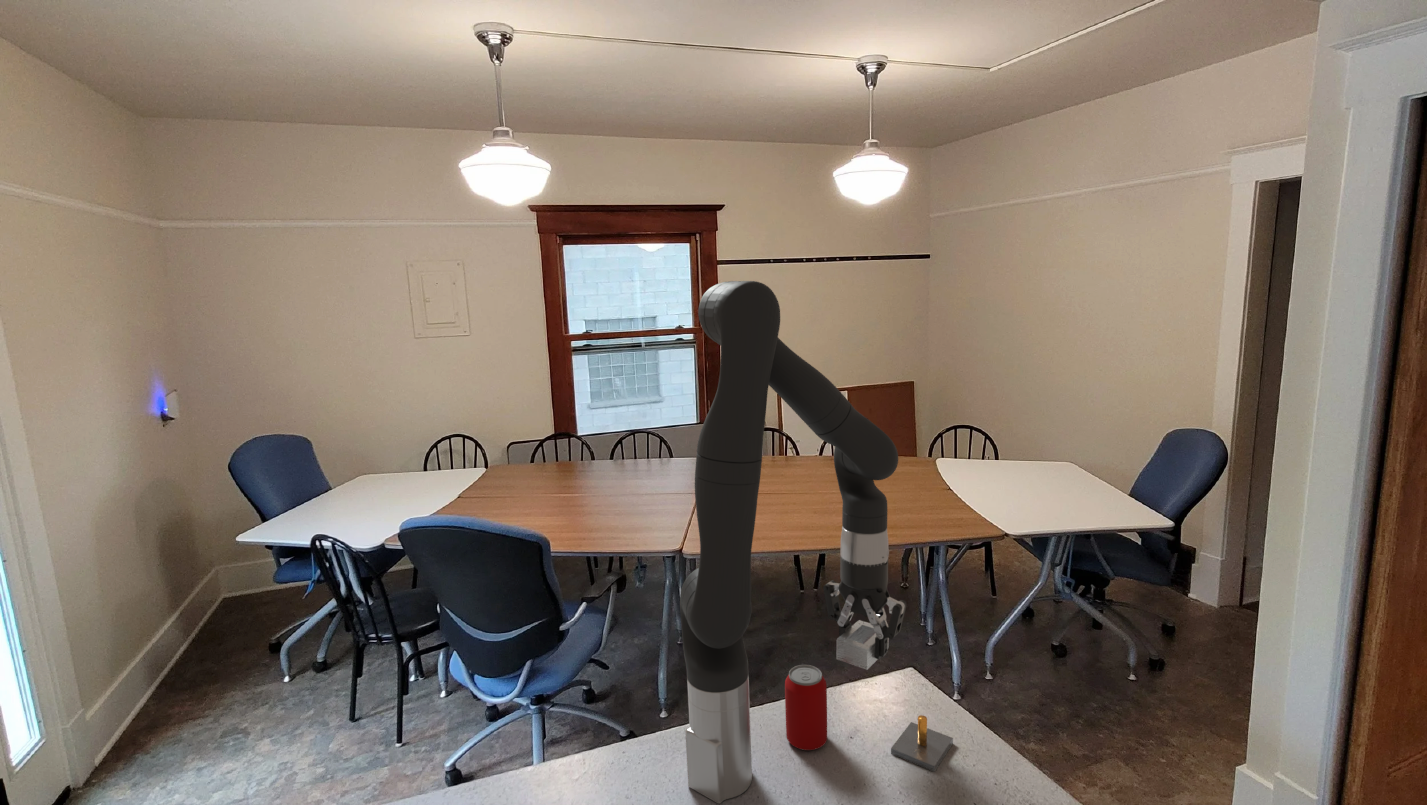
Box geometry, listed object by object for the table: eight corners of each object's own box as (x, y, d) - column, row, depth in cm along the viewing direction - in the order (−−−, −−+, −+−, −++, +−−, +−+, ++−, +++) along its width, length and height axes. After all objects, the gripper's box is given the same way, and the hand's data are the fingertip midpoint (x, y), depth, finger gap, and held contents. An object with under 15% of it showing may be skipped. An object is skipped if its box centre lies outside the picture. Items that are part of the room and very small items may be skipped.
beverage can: (826, 727, 113) (825, 662, 111) (829, 755, 107) (827, 686, 105) (786, 726, 114) (784, 662, 112) (786, 753, 107) (784, 685, 105)
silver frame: (867, 670, 105) (867, 649, 105) (836, 659, 109) (836, 639, 108) (888, 648, 112) (888, 629, 111) (858, 638, 115) (859, 619, 114)
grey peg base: (934, 772, 102) (934, 740, 101) (891, 753, 106) (891, 722, 105) (952, 743, 108) (953, 713, 107) (911, 727, 112) (911, 698, 111)
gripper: (813, 551, 109) (813, 647, 112) (897, 572, 100) (894, 676, 103) (835, 537, 115) (834, 629, 117) (916, 556, 106) (913, 655, 108)
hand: (862, 650), depth 110 cm, fingers closed on silver frame, 5 cm apart
